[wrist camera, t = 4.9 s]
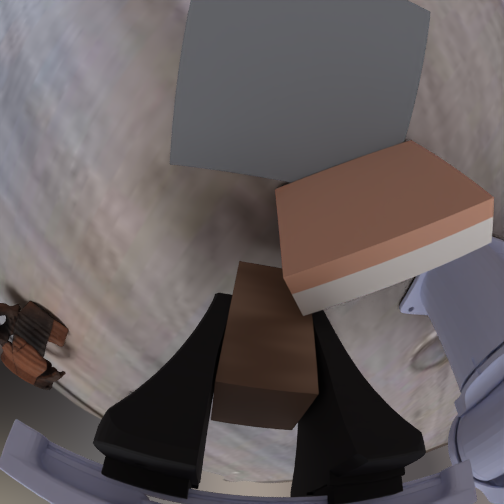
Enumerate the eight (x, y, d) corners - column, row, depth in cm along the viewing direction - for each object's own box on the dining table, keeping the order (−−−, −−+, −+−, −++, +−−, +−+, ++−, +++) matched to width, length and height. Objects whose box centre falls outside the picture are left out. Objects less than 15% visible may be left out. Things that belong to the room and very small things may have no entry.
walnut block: (307, 272, 12) (318, 393, 7) (291, 319, 14) (291, 430, 9) (239, 261, 12) (215, 381, 7) (231, 310, 14) (211, 420, 9)
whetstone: (411, 140, 13) (493, 197, 7) (417, 172, 14) (491, 242, 8) (274, 189, 15) (283, 278, 9) (289, 219, 16) (303, 315, 10)
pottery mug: (93, 342, 26) (66, 405, 22) (68, 323, 32) (46, 374, 28) (2, 281, 18) (-29, 354, 14) (-1, 274, 24) (-27, 330, 20)
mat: (425, 13, 9) (430, 12, 8) (380, 199, 15) (384, 203, 15) (203, -39, 8) (201, -43, 8) (173, 161, 15) (169, 164, 14)
